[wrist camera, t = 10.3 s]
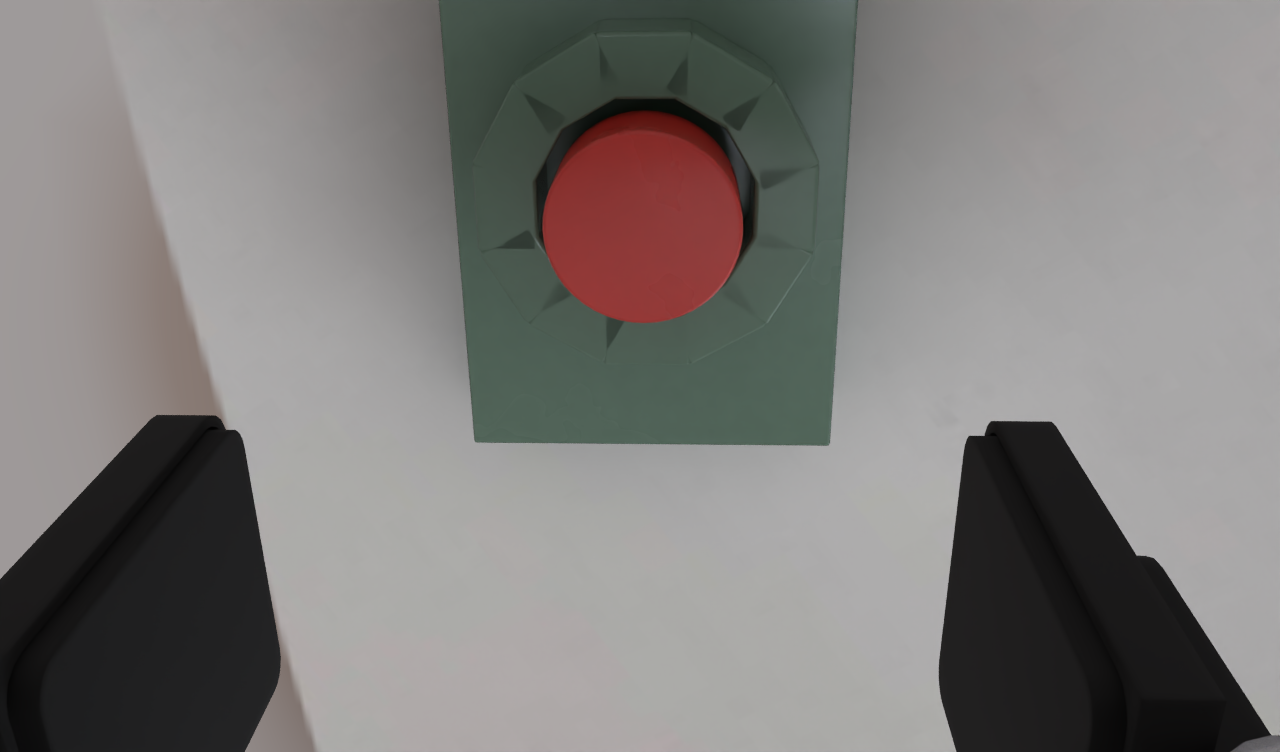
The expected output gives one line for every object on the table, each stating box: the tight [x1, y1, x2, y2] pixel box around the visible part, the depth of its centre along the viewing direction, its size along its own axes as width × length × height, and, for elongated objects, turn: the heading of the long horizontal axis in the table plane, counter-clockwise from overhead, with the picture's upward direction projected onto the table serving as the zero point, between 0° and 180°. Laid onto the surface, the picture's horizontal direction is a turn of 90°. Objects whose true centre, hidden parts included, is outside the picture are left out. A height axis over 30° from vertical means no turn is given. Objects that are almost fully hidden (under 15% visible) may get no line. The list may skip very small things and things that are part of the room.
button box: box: [439, 0, 858, 446], centre depth 24 cm, size 12×8×4 cm, turn 1°
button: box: [542, 110, 743, 323], centre depth 21 cm, size 4×4×2 cm
